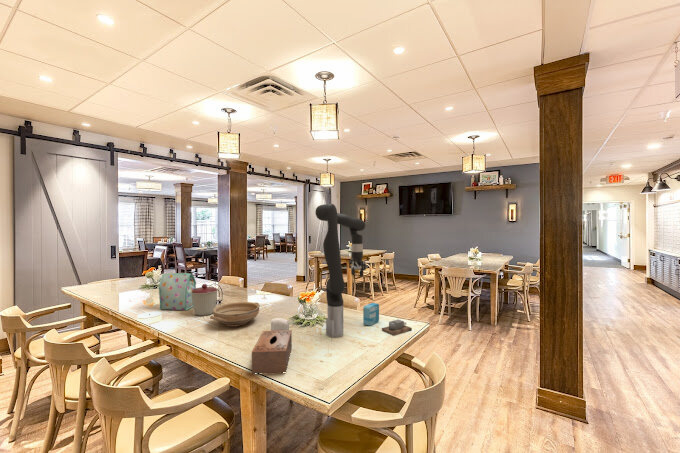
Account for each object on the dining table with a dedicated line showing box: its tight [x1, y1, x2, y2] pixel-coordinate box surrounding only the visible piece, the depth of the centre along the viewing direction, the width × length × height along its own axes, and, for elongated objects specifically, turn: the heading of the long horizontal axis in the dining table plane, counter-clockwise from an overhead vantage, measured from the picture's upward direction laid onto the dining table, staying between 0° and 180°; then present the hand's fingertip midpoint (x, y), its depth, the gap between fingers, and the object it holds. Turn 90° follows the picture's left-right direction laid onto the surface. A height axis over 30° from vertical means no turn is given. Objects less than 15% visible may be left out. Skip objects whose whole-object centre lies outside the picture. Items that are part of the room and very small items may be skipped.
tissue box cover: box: [251, 329, 293, 375], centre depth 146 cm, size 26×14×10 cm, turn 4°
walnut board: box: [381, 325, 413, 337], centre depth 186 cm, size 15×10×2 cm, turn 126°
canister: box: [190, 283, 219, 317], centre depth 221 cm, size 18×18×21 cm
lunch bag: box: [158, 272, 197, 311], centre depth 236 cm, size 23×16×27 cm
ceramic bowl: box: [210, 301, 261, 327], centre depth 201 cm, size 37×28×10 cm
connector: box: [388, 319, 407, 331], centre depth 186 cm, size 12×4×4 cm, turn 126°
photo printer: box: [270, 317, 290, 331], centre depth 171 cm, size 10×4×12 cm, turn 72°
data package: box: [362, 302, 380, 327], centre depth 200 cm, size 12×4×12 cm, turn 142°
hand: (357, 275), depth 201 cm, fingers open, 8 cm apart
